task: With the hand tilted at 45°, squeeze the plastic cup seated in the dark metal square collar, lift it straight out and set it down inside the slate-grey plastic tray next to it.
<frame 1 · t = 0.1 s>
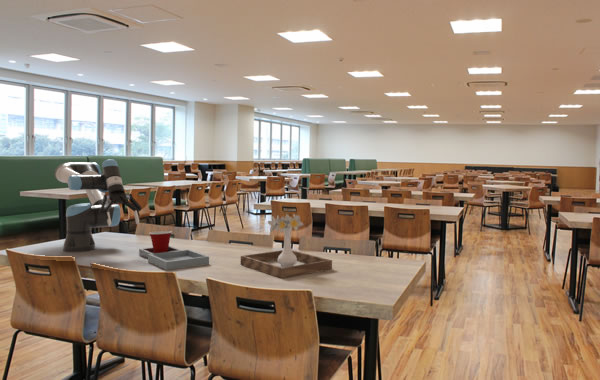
hand: (124, 224, 240), 15 cm above the table, fingers open, 13 cm apart
plastic cup: (160, 256, 241), resting in square collar
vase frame: (285, 266, 220), on the table
tray: (178, 262, 225), on the table
flower vase: (285, 267, 220), resting in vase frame
square collar: (160, 255, 241), on the table
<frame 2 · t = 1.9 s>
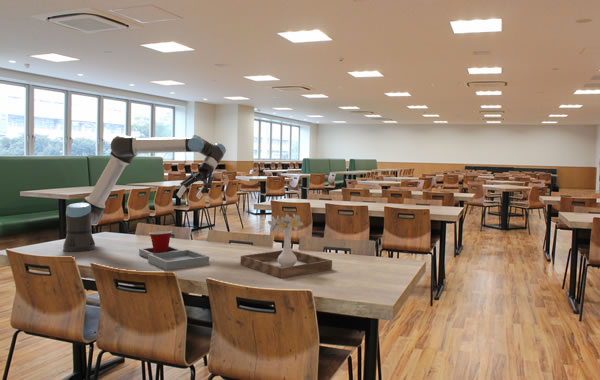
hand: (187, 196, 252), 28 cm above the table, fingers open, 13 cm apart
nothing on the table moved.
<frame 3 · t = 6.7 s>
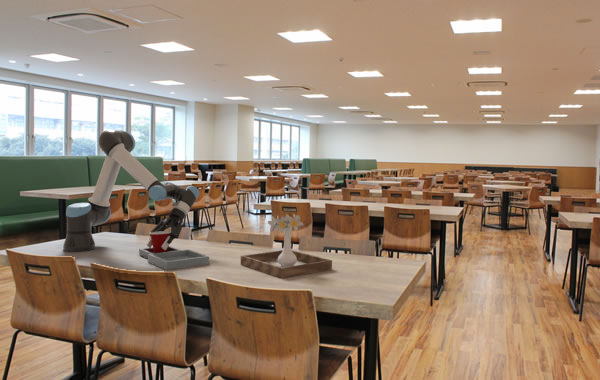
hand: (155, 247, 238), 5 cm above the table, fingers closed on plastic cup, 10 cm apart
plastic cup: (160, 256, 241), resting in square collar, touching gripper
everything else where it was.
when the fingers open (6 cm above the table, at t = 14.4 s): plastic cup moves 2 cm, point 1 cm above the table.
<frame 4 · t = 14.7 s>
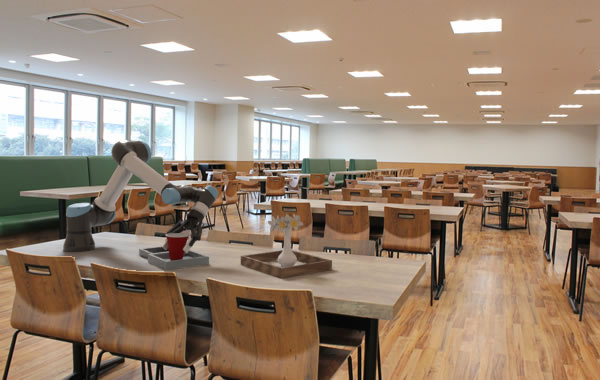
hand: (174, 250, 223), 6 cm above the table, fingers open, 12 cm apart
plastic cup: (175, 259, 227), point 1 cm above the table, touching gripper
everything else where it was.
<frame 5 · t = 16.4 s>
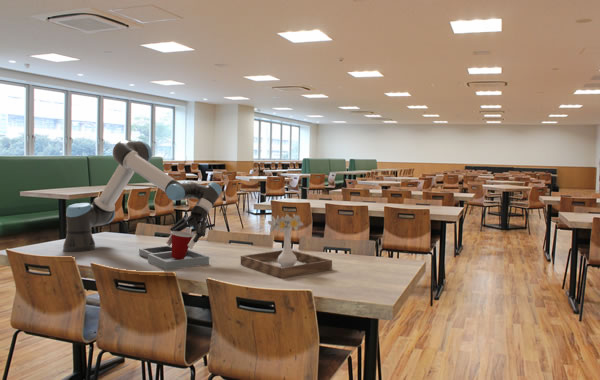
hand: (178, 245, 224), 8 cm above the table, fingers open, 13 cm apart
plastic cup: (177, 258, 229), point 1 cm above the table, touching tray
everything else where it was.
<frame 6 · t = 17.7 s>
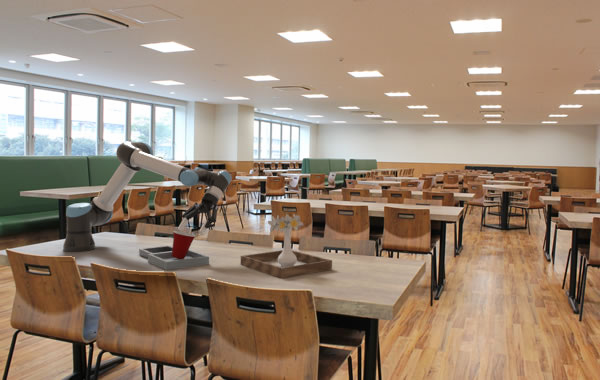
hand: (190, 231, 230), 14 cm above the table, fingers open, 13 cm apart
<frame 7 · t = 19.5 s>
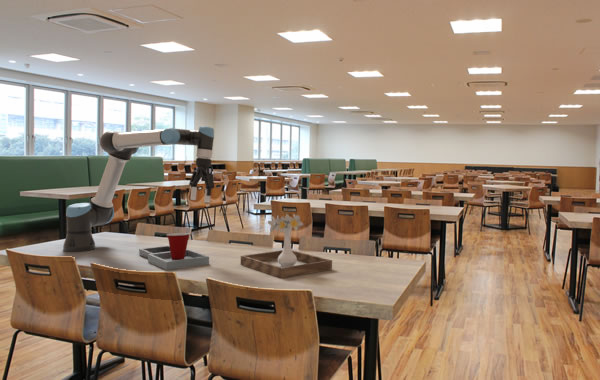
hand: (199, 201, 243), 27 cm above the table, fingers open, 13 cm apart
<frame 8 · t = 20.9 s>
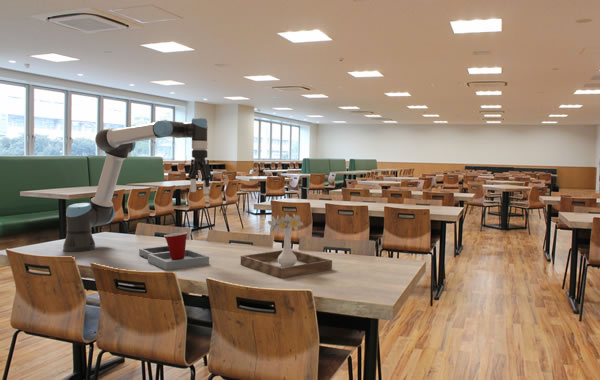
hand: (199, 192, 243), 31 cm above the table, fingers open, 13 cm apart
at the end: plastic cup inside the target area on the tray (4.0 cm from its centre), point 1.0 cm above the tray's base; the gripper is holding nothing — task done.
